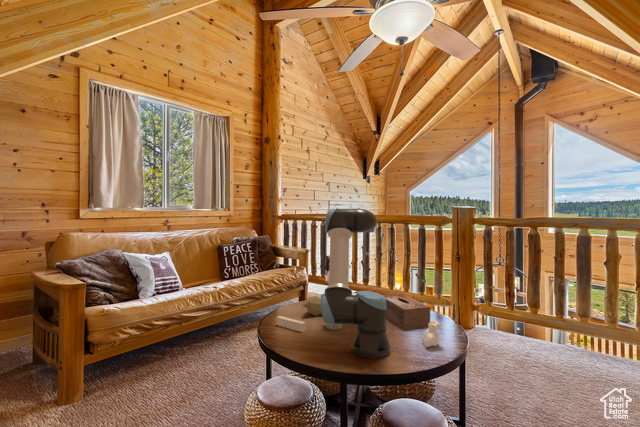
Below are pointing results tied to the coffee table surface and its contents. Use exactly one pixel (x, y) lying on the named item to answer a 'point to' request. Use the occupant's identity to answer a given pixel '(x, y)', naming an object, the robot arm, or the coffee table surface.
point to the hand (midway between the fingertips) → (326, 281)
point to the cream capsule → (311, 295)
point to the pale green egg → (333, 326)
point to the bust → (431, 334)
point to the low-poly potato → (314, 305)
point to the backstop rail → (291, 324)
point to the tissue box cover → (407, 311)
